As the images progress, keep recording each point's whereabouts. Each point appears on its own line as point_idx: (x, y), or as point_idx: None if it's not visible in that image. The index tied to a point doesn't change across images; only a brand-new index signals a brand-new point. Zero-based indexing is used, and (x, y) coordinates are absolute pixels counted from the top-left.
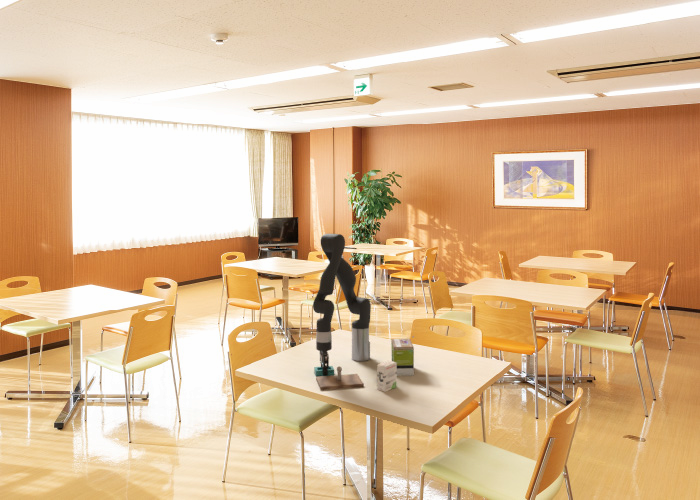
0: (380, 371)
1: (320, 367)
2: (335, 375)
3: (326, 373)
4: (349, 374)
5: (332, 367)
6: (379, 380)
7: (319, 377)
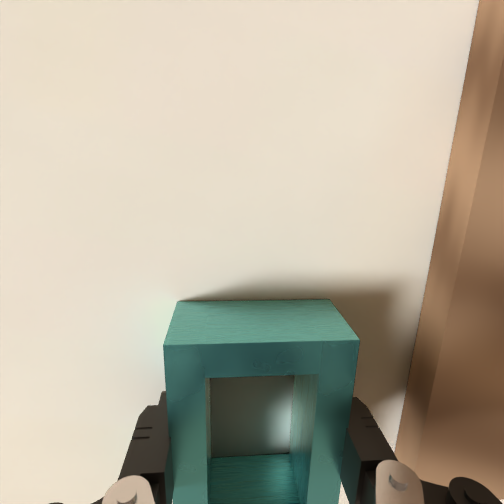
0: None
1: (206, 495)
2: (450, 318)
3: (368, 416)
4: (496, 119)
5: (246, 350)
6: None
7: (442, 480)
